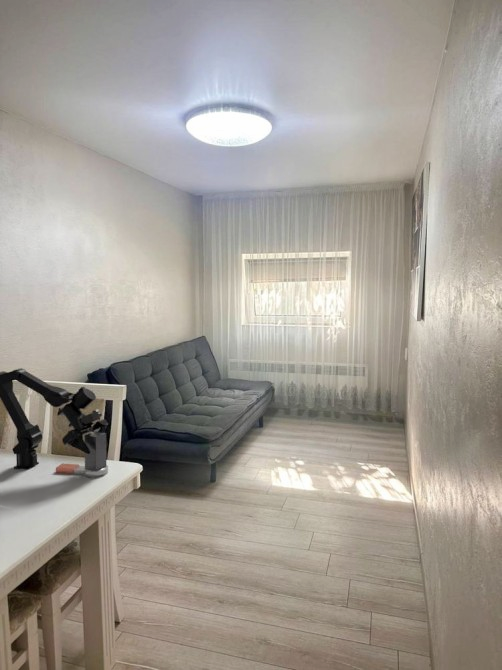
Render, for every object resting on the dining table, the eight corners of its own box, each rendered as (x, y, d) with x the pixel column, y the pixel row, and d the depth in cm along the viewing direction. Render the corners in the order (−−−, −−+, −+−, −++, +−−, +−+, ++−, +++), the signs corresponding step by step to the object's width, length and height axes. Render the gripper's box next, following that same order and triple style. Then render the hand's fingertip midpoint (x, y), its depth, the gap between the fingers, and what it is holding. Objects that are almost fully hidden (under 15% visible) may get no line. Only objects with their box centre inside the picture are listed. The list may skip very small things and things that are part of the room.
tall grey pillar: (84, 469, 163) (84, 435, 162) (95, 464, 168) (95, 431, 167) (96, 471, 161) (95, 437, 160) (106, 466, 166) (106, 433, 165)
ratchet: (111, 469, 168) (111, 458, 167) (101, 478, 160) (101, 466, 159) (65, 466, 170) (65, 455, 170) (52, 474, 162) (52, 462, 162)
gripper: (67, 409, 155) (92, 444, 152) (104, 399, 172) (127, 430, 169) (51, 428, 159) (75, 462, 155) (89, 416, 176) (111, 446, 173)
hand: (98, 449), depth 163 cm, fingers open, 9 cm apart
